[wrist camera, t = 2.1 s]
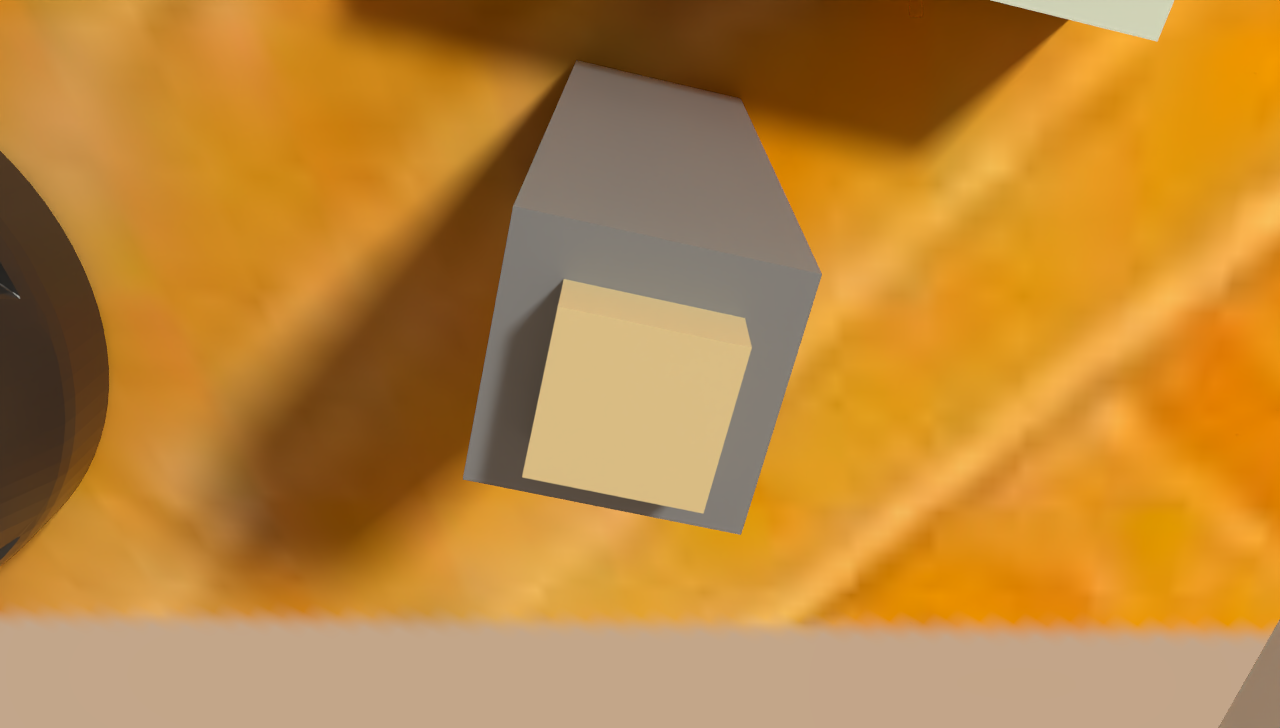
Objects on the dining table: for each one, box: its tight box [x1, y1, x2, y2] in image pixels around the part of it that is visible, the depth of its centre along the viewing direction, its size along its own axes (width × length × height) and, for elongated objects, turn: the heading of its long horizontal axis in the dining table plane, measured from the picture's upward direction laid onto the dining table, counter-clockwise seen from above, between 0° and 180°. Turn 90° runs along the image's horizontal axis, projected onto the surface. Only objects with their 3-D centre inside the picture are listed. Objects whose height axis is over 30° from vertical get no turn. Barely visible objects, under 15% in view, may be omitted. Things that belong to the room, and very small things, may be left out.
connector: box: [463, 60, 822, 535], centre depth 20 cm, size 4×4×14 cm
